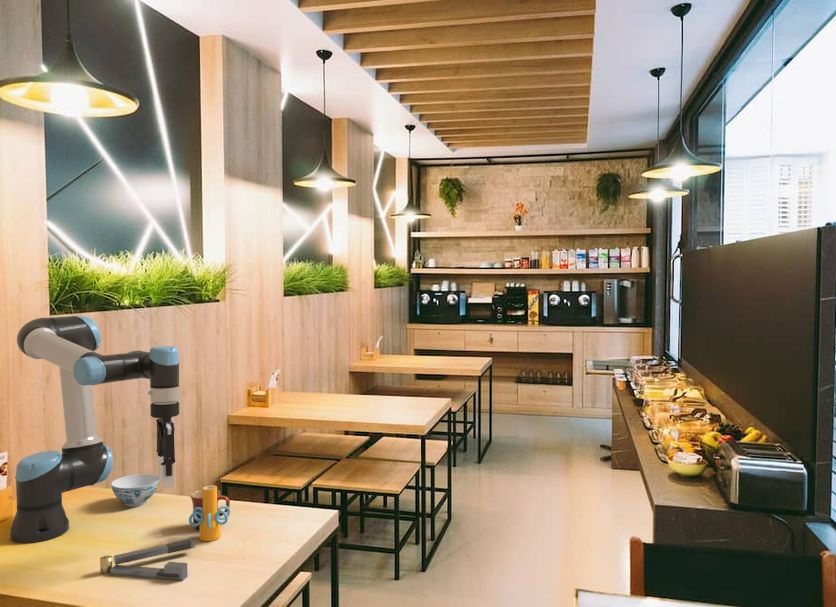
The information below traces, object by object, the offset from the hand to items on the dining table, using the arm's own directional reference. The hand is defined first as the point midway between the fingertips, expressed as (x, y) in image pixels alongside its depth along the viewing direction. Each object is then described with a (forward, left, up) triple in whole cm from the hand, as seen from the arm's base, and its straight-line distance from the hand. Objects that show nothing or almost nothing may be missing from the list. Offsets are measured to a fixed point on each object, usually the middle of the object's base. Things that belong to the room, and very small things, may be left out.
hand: (165, 482), depth 176 cm
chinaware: (-31, +33, -19) cm, 49 cm away
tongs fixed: (+2, -15, -19) cm, 24 cm away
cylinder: (+8, +10, -19) cm, 23 cm away
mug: (+4, +18, -19) cm, 27 cm away
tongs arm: (+1, -7, -17) cm, 19 cm away
